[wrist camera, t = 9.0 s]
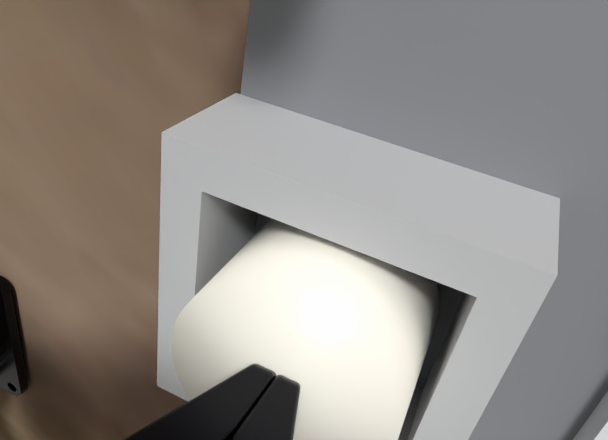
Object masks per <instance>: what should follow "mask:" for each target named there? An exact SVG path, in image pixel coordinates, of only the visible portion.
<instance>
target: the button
mask: <svg viewBox="0 0 608 440" xmlns="http://www.w3.org/2000/svg"><path fill="white" fill-rule="evenodd" d="M439 307H440V301H439V290H438V285H437V282H436V281H433V280H430V279H428V278H425V277H423V276H420V275H417V274H415V273H412V272H410V271H407V270H404V269H402V268H399V267H397V266H394V265H392V264H389V263H386V262H384V261H381V260H379V259H376V258H373V257H371V256H368V255H366V254H363V253H360V252H358V251H355V250H353V249H350V248H347V247H345V246H342V245H340V244H337V243H334V242H332V241H329V240H327V239H324V238H321V237H319V236H316V235H314V234H311V233H309V232H306V231H303V230H301V229H298V228H296V227H293V226H290V225H288V224H285V223H283V222H280V221H277V220H275V219H272V218H271V219H270V220H269V221H268V222H267V223H266V224H265V225H264V226H263V227H262V228H261V229H260V230H259V231H258V232H257V233H256V234H255V235H254V236H253V238H252V239H251V240H250V241H249V242H248V243H247V244H246V245H245V246H244V247H243V248H242V249H241V250H240V251H239V252H238V253H237V254H236V255H235V256H234V257H233V258H232V259H231V260H230V261H229V262H228V263H227V264H226V265H225V266H224V267H223V268H222V269H221V270H220V271H219V272H218V273H217V274H216V275H215V276H214V277H213V278H212V279H211V280H210V281H209V282H208V283H207V284H206V285H205V286H204V287H203V288H202V289H201V290H200V291H199V292H198V293H197V294H196V295H195V296H194V297H193V298H192V299H191V300H190V301H189V302H188V303H187V305H186V306H185V307H184V308H183V309H182V311H181V312H180V314H179V315H178V317H177V319H176V321H175V324H174V328H173V331H172V339H171V349H172V357H173V363H174V366H175V369H176V373H177V376H178V378H179V380H180V382H181V385H182V387H183V389H184V391H185V392H186V394H187V396H188V398H189V399H190V400H192V399H193V398H195V397H197V396H199V395H200V394H202V393H204V392H205V391H207V390H209V389H210V388H212V387H214V386H216V385H217V384H219V383H221V382H222V381H224V380H226V379H227V378H229V377H231V376H233V375H234V374H236V373H238V372H239V371H241V370H243V369H244V368H246V367H248V366H250V365H252V364H259V365H261V366H263V367H265V368H267V369H269V370H272V371H273V372H275V373H276V377H277V376H278V375H282V376H284V377H287V378H289V379H291V380H293V381H295V382H297V383H299V385H300V395H299V402H298V409H297V416H296V423H295V430H294V436H293V440H398V438H399V435H400V432H401V429H402V426H403V423H404V420H405V417H406V414H407V411H408V407H409V404H410V401H411V398H412V395H413V392H414V389H415V386H416V383H417V380H418V377H419V374H420V371H421V368H422V365H423V362H424V359H425V356H426V353H427V350H428V346H429V343H430V340H431V337H432V334H433V331H434V328H435V325H436V322H437V319H438V314H439Z"/></svg>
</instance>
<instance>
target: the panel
mask: <svg viewBox="0 0 608 440" xmlns="http://www.w3.org/2000/svg"><path fill="white" fill-rule="evenodd" d="M271 218H272V219H275V220H277V221H280V222H283V223H285V224H288V225H290V226H293V227H296V228H298V229H301V230H303V231H306V232H309V233H311V234H314V235H316V236H319V237H321V238H324V239H327V240H329V241H332V242H334V243H337V244H340V245H342V246H345V247H347V248H350V249H353V250H355V251H358V252H360V253H363V254H366V255H368V256H371V257H373V258H376V259H379V260H381V261H384V262H386V263H389V264H392V265H394V266H397V267H399V268H402V269H404V270H407V271H410V272H412V273H415V274H417V275H420V276H423V277H425V278H428V279H430V280H433V281H436V282H437V285H438V290H439V301H440V307H439V314H438V319H437V322H436V325H435V328H434V331H433V334H432V337H431V340H430V343H429V346H428V350H427V353H426V356H425V359H424V362H423V365H422V368H421V371H420V374H419V377H418V380H417V383H416V386H415V389H414V392H413V395H412V398H411V401H410V404H409V407H408V411H407V414H406V417H405V420H404V423H403V426H402V429H401V432H400V435H399V438H398V440H608V0H250V5H249V15H248V25H247V35H246V45H245V54H244V64H243V74H242V84H241V93H240V94H238V93H235V94H233V95H231V96H229V97H227V98H225V99H223V100H222V101H220V102H218V103H216V104H214V105H212V106H210V107H208V108H207V109H205V110H203V111H201V112H199V113H197V114H195V115H193V116H191V117H190V118H188V119H186V120H184V121H182V122H180V123H178V124H176V125H175V126H173V127H171V128H169V129H167V130H165V131H163V132H162V146H161V197H160V249H159V300H158V352H157V386H158V387H160V388H162V389H164V390H166V391H168V392H170V393H172V394H174V395H176V396H178V397H180V398H182V399H184V400H186V401H190V399H189V398H188V396H187V394H186V392H185V391H184V389H183V387H182V385H181V382H180V380H179V378H178V376H177V373H176V369H175V366H174V363H173V357H172V349H171V339H172V331H173V328H174V324H175V321H176V319H177V317H178V315H179V314H180V312H181V311H182V309H183V308H184V307H185V306H186V305H187V303H188V302H189V301H190V300H191V299H192V298H193V297H194V296H195V295H196V294H197V293H198V292H199V291H200V290H201V289H202V288H203V287H204V286H205V285H206V284H207V283H208V282H209V281H210V280H211V279H212V278H213V277H214V276H215V275H216V274H217V273H218V272H219V271H220V270H221V269H222V268H223V267H224V266H225V265H226V264H227V263H228V262H229V261H230V260H231V259H232V258H233V257H234V256H235V255H236V254H237V253H238V252H239V251H240V250H241V249H242V248H243V247H244V246H245V245H246V244H247V243H248V242H249V241H250V240H251V239H252V238H253V236H254V235H255V234H256V233H257V232H258V231H259V230H260V229H261V228H262V227H263V226H264V225H265V224H266V223H267V222H268V221H269V220H270V219H271Z"/></svg>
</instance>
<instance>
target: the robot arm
mask: <svg viewBox="0 0 608 440" xmlns="http://www.w3.org/2000/svg"><path fill="white" fill-rule="evenodd" d="M0 387H1V388H2V389H4V390H6V391H8V392H10V393H11V394H13V395H16V396H20V395H21V394H22V393H23V392H24V391H25V390H27V389H28V381H27V376H26V370H25V364H24V359H23V353H22V348H21V342H20V336H19V331H18V325H17V320H16V314H15V308H14V303H13V297H12V292H11V289H10V286H9V285H8V283H7V282H6V281H5V280H4V279H3V278H1V277H0ZM299 395H300V385H299V383H297V382H295V381H293V380H291V379H289V378H287V377H284V376H282V375H278V376H277V377H276V373H275V372H273V371H272V370H269V369H267V368H265V367H263V366H261V365H259V364H252V365H250V366H248V367H246V368H244V369H243V370H241V371H239V372H238V373H236V374H234V375H233V376H231V377H229V378H227V379H226V380H224V381H222V382H221V383H219V384H217V385H216V386H214V387H212V388H210V389H209V390H207V391H205V392H204V393H202V394H200V395H199V396H197V397H195V398H193V399H192V400H190V401H188V402H187V403H185V404H183V405H182V406H180V407H178V408H176V409H175V410H173V411H171V412H170V413H168V414H166V415H165V416H163V417H161V418H159V419H158V420H156V421H154V422H153V423H151V424H149V425H147V426H146V427H144V428H142V429H141V430H139V431H137V432H136V433H134V434H132V435H130V436H129V437H127V438H125V439H124V440H293V436H294V430H295V423H296V416H297V409H298V402H299Z"/></svg>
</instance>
